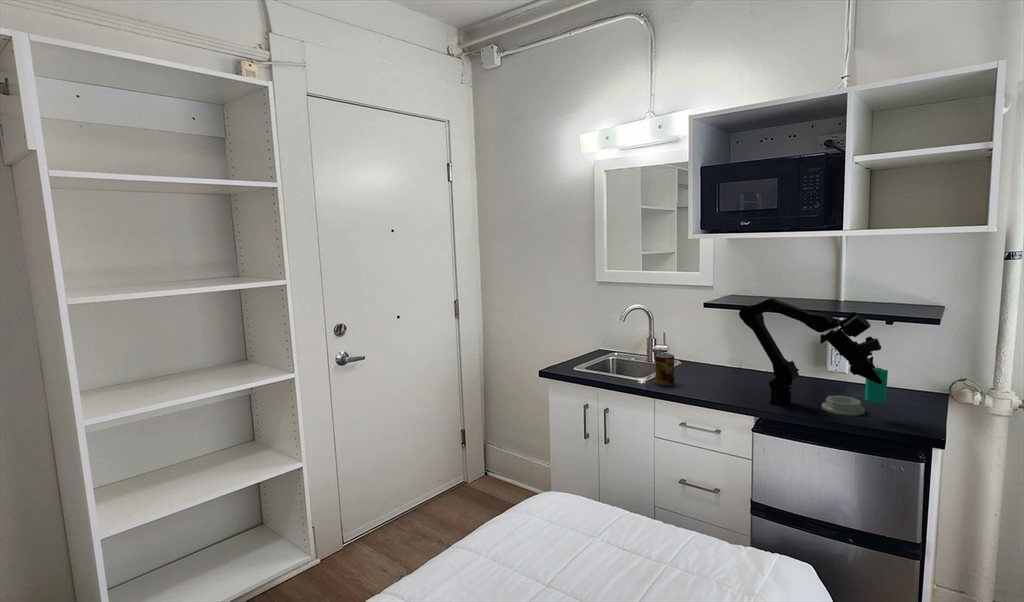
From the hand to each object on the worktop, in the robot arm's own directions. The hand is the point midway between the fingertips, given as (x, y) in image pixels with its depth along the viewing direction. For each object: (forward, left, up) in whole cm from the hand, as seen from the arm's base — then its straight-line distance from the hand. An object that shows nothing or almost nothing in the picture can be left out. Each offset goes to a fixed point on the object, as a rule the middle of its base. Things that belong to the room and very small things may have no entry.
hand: (881, 381), depth 178 cm
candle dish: (-11, +5, -13) cm, 18 cm away
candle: (-1, 0, -7) cm, 7 cm away
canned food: (-77, +1, -13) cm, 79 cm away
